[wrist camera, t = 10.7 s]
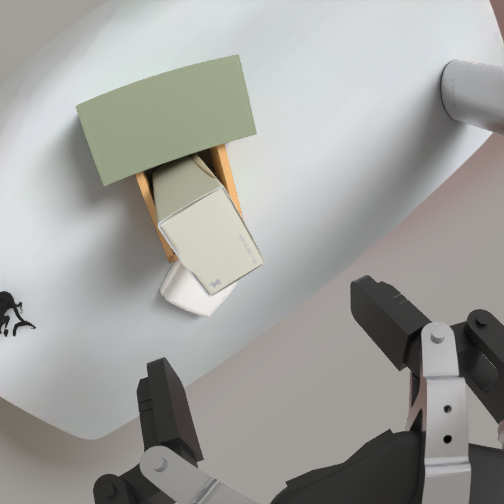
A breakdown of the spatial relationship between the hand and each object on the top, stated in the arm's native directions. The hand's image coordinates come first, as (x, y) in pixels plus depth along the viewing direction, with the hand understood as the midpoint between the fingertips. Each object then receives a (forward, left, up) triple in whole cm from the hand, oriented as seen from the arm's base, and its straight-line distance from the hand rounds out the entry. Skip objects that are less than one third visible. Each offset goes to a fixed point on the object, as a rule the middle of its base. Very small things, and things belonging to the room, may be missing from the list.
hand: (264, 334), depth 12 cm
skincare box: (0, 0, -20) cm, 20 cm away
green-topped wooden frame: (0, -3, -20) cm, 20 cm away
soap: (+1, +9, -20) cm, 22 cm away
